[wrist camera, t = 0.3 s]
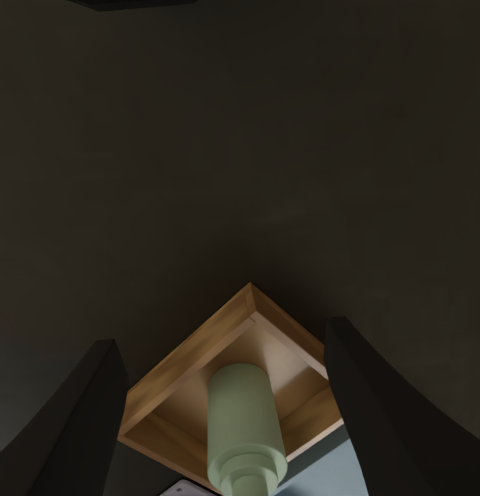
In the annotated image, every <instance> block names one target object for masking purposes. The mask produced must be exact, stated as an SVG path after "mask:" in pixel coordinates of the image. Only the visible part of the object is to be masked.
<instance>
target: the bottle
mask: <svg viewBox="0 0 480 496" xmlns="http://www.w3.org/2000/svg"><path fill="white" fill-rule="evenodd" d="M287 468H288V463H287V458H286V454H285V449H284V444H283V439H282V435H281V430H280V425H279V421H278V416H277V411H276V406H275V402H274V397H273V392H272V388H271V383H270V379H269V377H268V375H267V374H266V372H265V371H264V370H263V369H261V368H260V367H258V366H256V365H253V364H249V363H234V364H230V365H227V366H225V367H223V368H221V369H219V370H218V371H217V372H216V373H215V374H214V375H213V376H212V377H211V379H210V381H209V384H208V452H207V474H208V478H209V481H210V482H211V484H212V485H213V486H214V487H215V488H216V489H217V490H219V491H221V493H222V494H223V495H224V496H270V495H271V494H272V493H274V491H275V490H276V488H277V486H278V484H279V483H280V482H281V481H282V479H283V478H284V476H285V475H286V472H287Z"/></svg>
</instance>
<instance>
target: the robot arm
mask: <svg viewBox="0 0 480 496" xmlns="http://www.w3.org/2000/svg"><path fill="white" fill-rule="evenodd" d="M323 360H324V364H325V368H326V372H327V376H328V380H329V384H330V387H331V390H332V393H333V396H334V398H335V401H336V404H337V406H338V409H339V411H340V414H341V417H342V419H343V422H344V425H345V427H346V430H347V432H348V435H349V438H350V440H351V443H352V445H353V448H354V451H355V453H356V456H357V459H358V462H359V465H360V468H361V471H362V474H363V478H364V481H365V485H366V488H367V492H368V495H369V496H480V439H478V438H477V437H475V436H474V435H472V434H471V433H470V432H468V431H467V430H465V429H464V428H463V427H461V426H460V425H459V424H458V423H456V422H455V421H454V420H452V419H451V418H450V417H448V416H447V415H446V414H445V413H443V412H442V411H441V410H440V409H438V408H437V407H436V406H435V405H434V404H432V403H431V402H430V401H429V400H428V399H426V398H425V397H424V396H423V395H422V394H421V393H420V392H418V391H417V390H416V389H415V388H414V387H413V386H412V385H411V384H410V383H408V382H407V381H406V380H405V379H404V378H403V377H402V376H401V375H400V374H399V373H398V372H397V371H396V370H395V369H394V368H393V367H392V366H391V365H390V364H389V363H388V362H387V361H386V360H385V359H384V358H383V357H382V356H381V355H380V354H379V353H378V352H377V351H376V350H375V349H374V348H373V347H372V346H371V345H370V344H369V343H368V342H367V340H366V339H365V338H364V337H363V336H362V335H361V334H360V333H359V332H358V330H357V329H356V328H355V327H354V326H353V325H352V324H351V322H350V321H349V320H348V319H347V318H346V317H345V316H344V317H334V318H327V321H326V332H325V344H324V356H323ZM128 383H129V377H128V374H127V372H126V369H125V366H124V363H123V361H122V358H121V355H120V353H119V350H118V347H117V345H116V342H115V339H110V340H99V341H96V342H95V343H94V344H93V345H92V347H91V348H90V349H89V350H88V352H87V353H86V354H85V355H84V357H83V358H82V359H81V361H80V362H79V363H78V364H77V366H76V367H75V368H74V369H73V371H72V372H71V373H70V375H69V376H68V377H67V378H66V380H65V381H64V382H63V383H62V384H61V386H60V387H59V388H58V389H57V391H56V392H55V393H54V394H53V395H52V397H51V398H50V399H49V400H48V401H47V403H46V404H45V405H44V406H43V407H42V408H41V409H40V411H39V412H38V413H37V414H36V415H35V416H34V417H33V418H32V420H31V421H30V422H29V423H28V424H27V425H26V426H25V427H24V429H23V430H22V431H21V432H20V433H19V434H18V435H17V436H16V437H15V438H14V439H13V440H12V441H11V442H10V443H9V444H8V445H7V446H6V447H5V448H4V449H3V450H2V451H1V452H0V496H102V495H103V491H104V486H105V482H106V478H107V474H108V471H109V467H110V463H111V459H112V456H113V452H114V448H115V445H116V441H117V437H118V433H119V430H120V426H121V422H122V418H123V414H124V410H125V405H126V398H127V391H128ZM160 496H216V495H214V494H212V493H210V492H208V491H207V490H205V489H203V488H201V487H199V486H197V485H195V484H193V483H191V482H189V481H187V480H180V481H178V482H177V483H176V484H174V485H173V486H172V487H171V488H169V489H168V490H167V491H165V492H164V493H163V494H161V495H160Z"/></svg>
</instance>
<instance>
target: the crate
mask: <svg viewBox="0 0 480 496" xmlns="http://www.w3.org/2000/svg"><path fill="white" fill-rule="evenodd" d="M323 356H324V345H323V344H322V343H321V342H320V341H319V340H318V339H316V338H315V337H314V336H313V335H312V334H311V333H309V332H308V331H307V330H306V329H305V328H304V327H302V326H301V325H300V324H299V323H298V322H297V321H295V320H294V319H293V318H292V317H291V316H290V315H288V314H287V313H286V312H285V311H284V310H283V309H281V308H280V307H279V306H278V305H277V304H276V303H274V302H273V301H272V300H271V299H270V298H269V297H267V296H266V295H265V294H264V293H263V292H262V291H260V290H259V289H258V288H257V287H256V286H255V285H253V284H252V283H251V282H249V283H248V284H247V285H246V286H245V287H244V288H242V289H241V290H240V291H239V292H238V293H237V294H236V295H235V296H233V297H232V298H231V299H230V300H229V301H228V302H227V303H226V304H225V305H223V306H222V307H221V308H220V309H219V310H218V311H217V312H216V313H215V314H213V315H212V316H211V317H210V318H209V319H208V320H207V321H206V322H204V323H203V324H202V325H201V326H200V327H199V328H198V329H197V330H196V331H194V332H193V333H192V334H191V335H190V336H189V337H188V338H187V339H186V340H184V341H183V342H182V343H181V344H180V345H179V346H178V347H177V348H176V349H174V350H173V351H172V352H171V353H170V354H169V355H168V356H167V357H165V358H164V359H163V360H162V361H161V362H160V363H159V364H158V365H157V366H155V367H154V368H153V369H152V370H151V371H150V372H149V373H148V374H147V375H145V376H144V377H143V378H142V379H141V380H140V381H139V382H138V383H136V384H135V385H134V386H133V387H132V388H131V389H130V390H129V391H128V392H127V398H126V405H125V410H124V414H123V418H122V422H121V426H120V430H119V433H118V437H117V440H118V441H120V442H122V443H124V444H125V445H127V446H129V447H131V448H133V449H135V450H137V451H139V452H141V453H143V454H145V455H146V456H148V457H150V458H152V459H154V460H156V461H158V462H160V463H162V464H164V465H165V466H167V467H169V468H171V469H173V470H175V471H177V472H179V473H181V474H183V475H185V476H186V477H188V478H190V479H192V480H194V481H196V482H198V483H200V484H202V485H204V486H205V487H207V488H209V489H211V490H213V491H215V492H217V493H219V494H221V495H223V494H222V493H221V491H219V490H217V489H216V488H215V487H214V486H213V485H212V484H211V482H210V481H209V478H208V474H207V452H208V384H209V381H210V379H211V377H212V376H213V375H214V374H215V373H216V372H217V371H218V370H219V369H221V368H223V367H225V366H227V365H230V364H234V363H249V364H253V365H256V366H258V367H260V368H261V369H263V370H264V371H265V372H266V374H267V375H268V377H269V379H270V383H271V388H272V392H273V397H274V402H275V406H276V411H277V416H278V421H279V425H280V430H281V435H282V439H283V444H284V449H285V454H286V458H287V463H288V462H289V461H291V460H292V459H294V458H295V457H297V456H298V455H299V454H301V453H302V452H304V451H305V450H307V449H308V448H310V447H311V446H312V445H314V444H315V443H317V442H318V441H320V440H321V439H322V438H324V437H325V436H327V435H328V434H330V433H331V432H332V431H334V430H335V429H337V428H338V427H340V426H341V425H342V424H344V422H343V419H342V417H341V414H340V411H339V409H338V406H337V404H336V401H335V398H334V396H333V393H332V390H331V387H330V384H329V380H328V376H327V372H326V368H325V364H324V360H323ZM223 496H224V495H223Z"/></svg>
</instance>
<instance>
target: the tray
mask: <svg viewBox="0 0 480 496" xmlns="http://www.w3.org/2000/svg"><path fill="white" fill-rule="evenodd" d="M270 496H369V495H368V492H367V488H366V485H365V481H364V478H363V474H362V471H361V468H360V465H359V462H358V459H357V456H356V453H355V451H354V448H353V445H352V443H351V440H350V438H349V435H348V432H347V430H346V427H345V425H344V424H342V425H341V426H340V427H338V428H337V429H335V430H334V431H332V432H331V433H330V434H328V435H327V436H325V437H324V438H322V439H321V440H320V441H318V442H317V443H315V444H314V445H312V446H311V447H310V448H308V449H307V450H305V451H304V452H302V453H301V454H299V455H298V456H297V457H295V458H294V459H292V460H291V461H289V462H288V468H287V472H286V475H285V476H284V478H283V479H282V481H281V482H280V483H279V484H278V486H277V488H276V490H275V491H274V493H272V494H271V495H270Z"/></svg>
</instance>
